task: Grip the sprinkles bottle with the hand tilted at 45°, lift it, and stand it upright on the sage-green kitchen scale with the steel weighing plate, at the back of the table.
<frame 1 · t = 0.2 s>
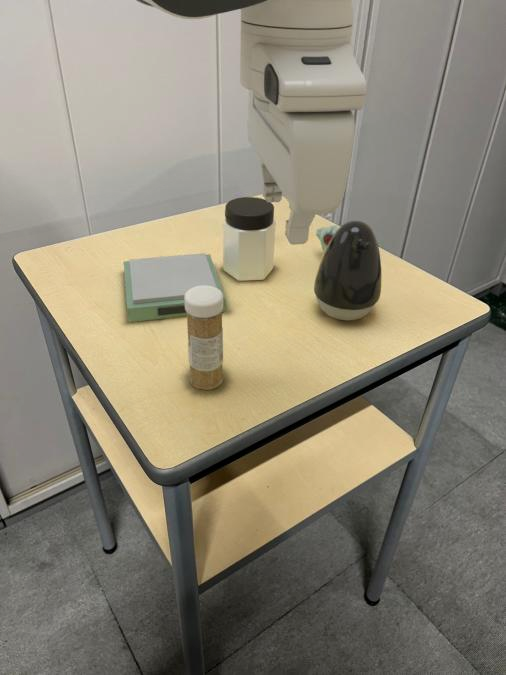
hand: (283, 218, 51), 25 cm above the table, tool pointing down, fingers open, 8 cm apart
sprinkles bottle: (206, 381, 69), on the table
jar: (248, 270, 93), on the table
robot head: (330, 260, 97), on the table
kitchen scale: (173, 292, 86), on the table
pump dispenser: (343, 312, 83), on the table
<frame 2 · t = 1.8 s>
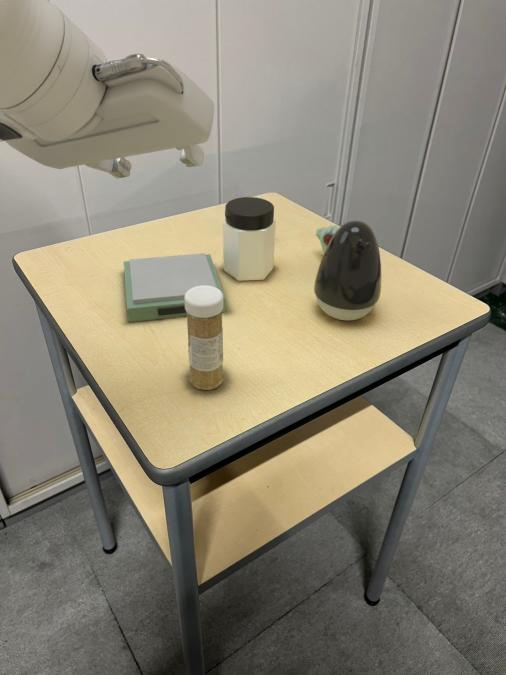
hand: (160, 166, 54), 28 cm above the table, tool tilted 50°, fingers open, 8 cm apart
nothing on the table moved.
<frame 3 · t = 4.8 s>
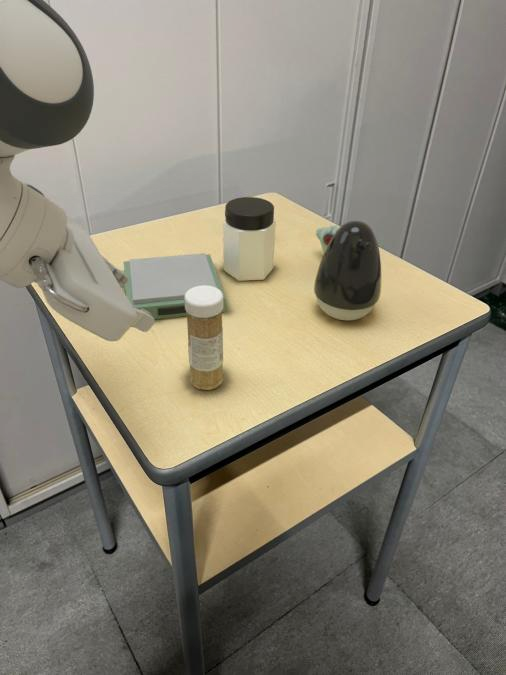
hand: (135, 301, 58), 14 cm above the table, tool tilted 45°, fingers open, 8 cm apart
nothing on the table moved.
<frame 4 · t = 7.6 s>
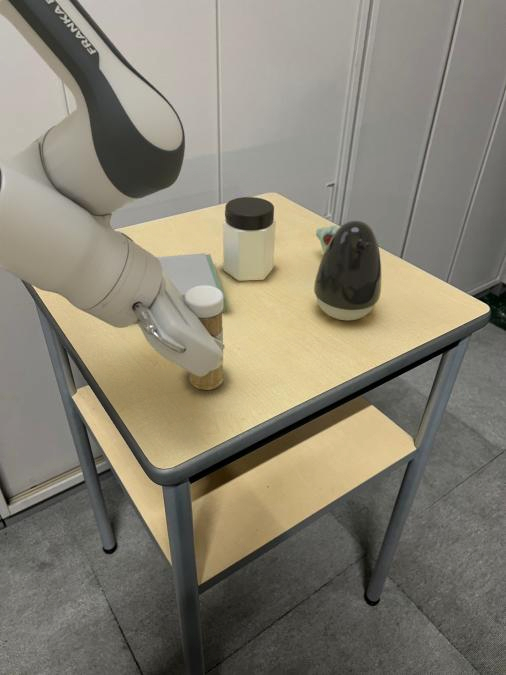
hand: (209, 335, 64), 7 cm above the table, tool tilted 45°, fingers closed on sprinkles bottle, 4 cm apart
sprinkles bottle: (206, 381, 69), on the table, touching gripper
everything else where it was.
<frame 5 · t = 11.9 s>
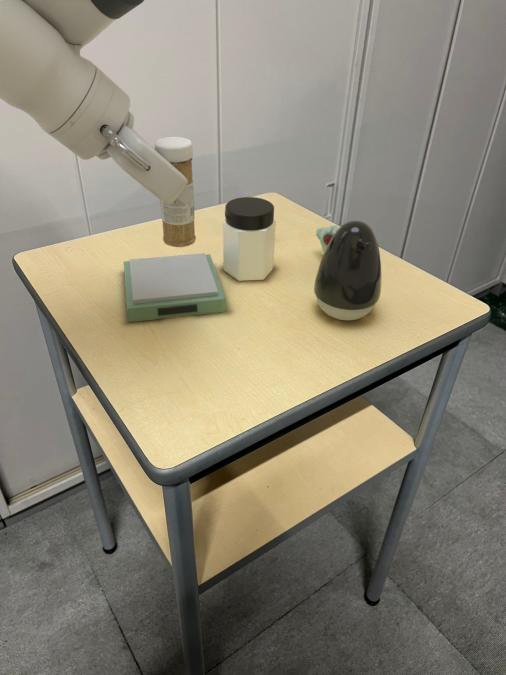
hand: (180, 190, 67), 21 cm above the table, tool tilted 45°, fingers closed on sprinkles bottle, 4 cm apart
sprinkles bottle: (179, 242, 71), point 13 cm above the table, touching gripper
everything else where it was.
when the fingers open (10 cm above the table, at t = 16.5 s): sprinkles bottle stays where it is, resting on kitchen scale.
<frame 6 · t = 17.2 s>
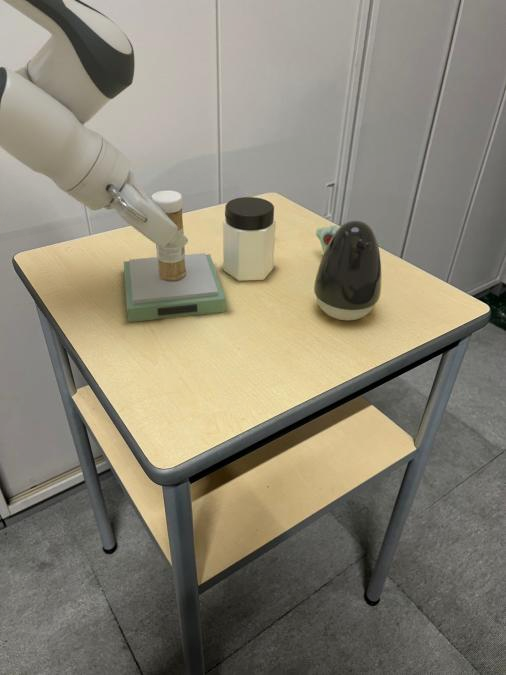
hand: (172, 230, 80), 11 cm above the table, tool tilted 45°, fingers open, 8 cm apart
sprinkles bottle: (172, 276, 84), point 3 cm above the table, touching kitchen scale
everything else where it was.
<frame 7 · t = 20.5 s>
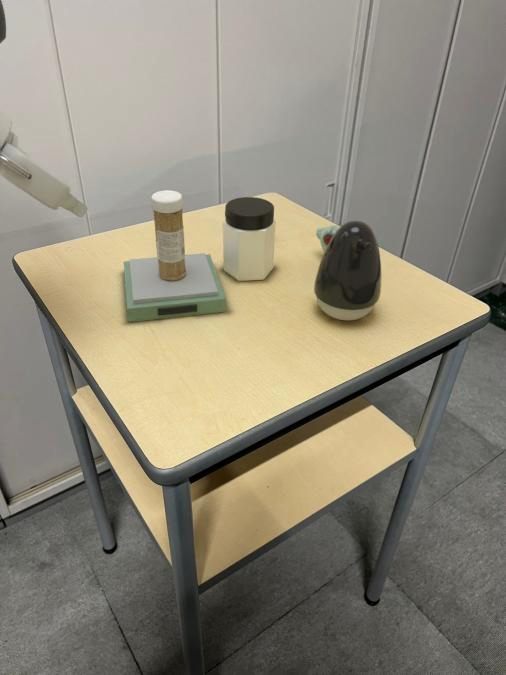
hand: (73, 203, 73), 16 cm above the table, tool tilted 45°, fingers open, 8 cm apart
nothing on the table moved.
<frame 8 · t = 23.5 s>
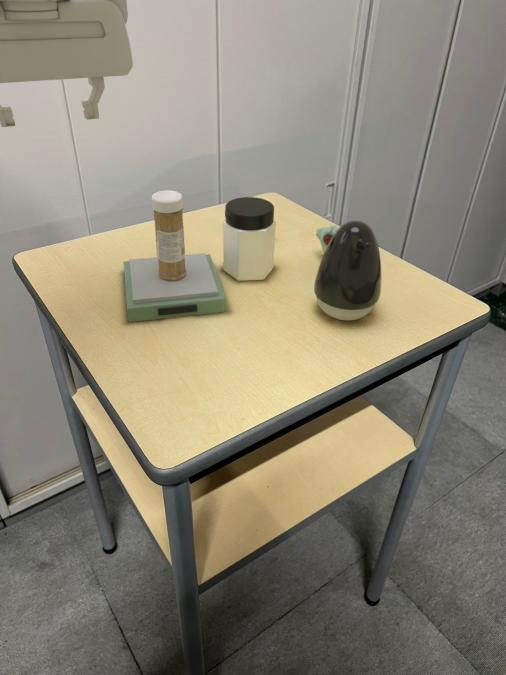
hand: (51, 121, 61), 29 cm above the table, tool pointing down, fingers open, 8 cm apart
nothing on the table moved.
at the end: sprinkles bottle inside the target area on the kitchen scale (0.1 cm from its centre), point 3.1 cm above the kitchen scale's base; sprinkles bottle tilted 0°; the gripper is holding nothing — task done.
